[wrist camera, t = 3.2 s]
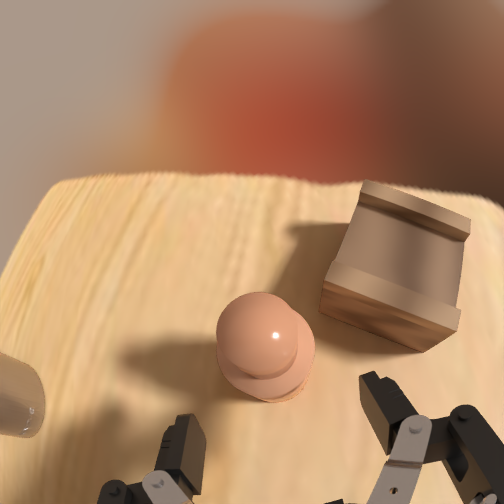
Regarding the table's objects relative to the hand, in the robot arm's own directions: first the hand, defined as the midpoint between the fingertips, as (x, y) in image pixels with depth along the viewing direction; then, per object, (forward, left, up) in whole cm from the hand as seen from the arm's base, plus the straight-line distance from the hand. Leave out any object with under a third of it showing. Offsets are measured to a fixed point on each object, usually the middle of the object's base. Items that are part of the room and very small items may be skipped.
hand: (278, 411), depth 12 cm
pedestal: (+4, +14, -9) cm, 17 cm away
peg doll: (-2, +3, -9) cm, 10 cm away
